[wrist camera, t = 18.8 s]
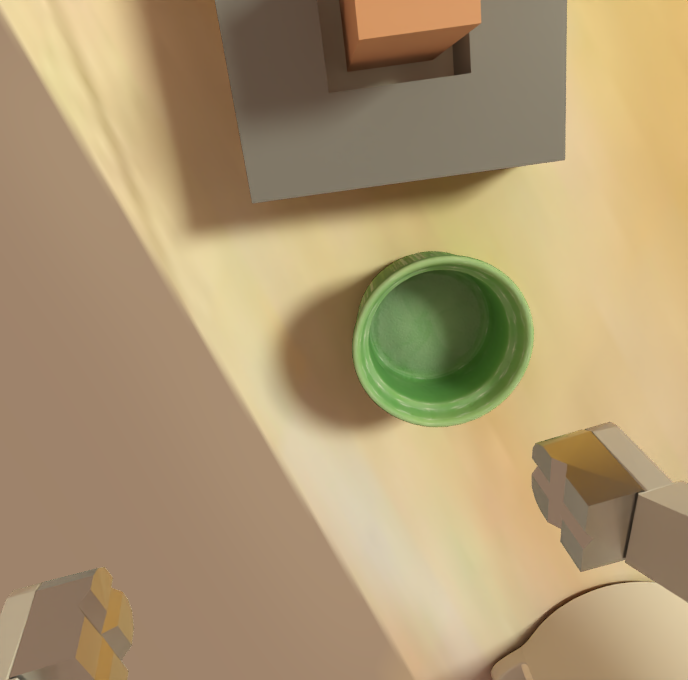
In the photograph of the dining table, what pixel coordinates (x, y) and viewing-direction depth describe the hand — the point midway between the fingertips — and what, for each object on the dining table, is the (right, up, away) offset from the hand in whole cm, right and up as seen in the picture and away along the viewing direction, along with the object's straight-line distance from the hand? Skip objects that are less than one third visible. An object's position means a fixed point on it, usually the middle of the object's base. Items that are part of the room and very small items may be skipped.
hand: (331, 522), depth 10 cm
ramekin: (+5, +5, +21) cm, 22 cm away
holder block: (+2, +18, +15) cm, 24 cm away
